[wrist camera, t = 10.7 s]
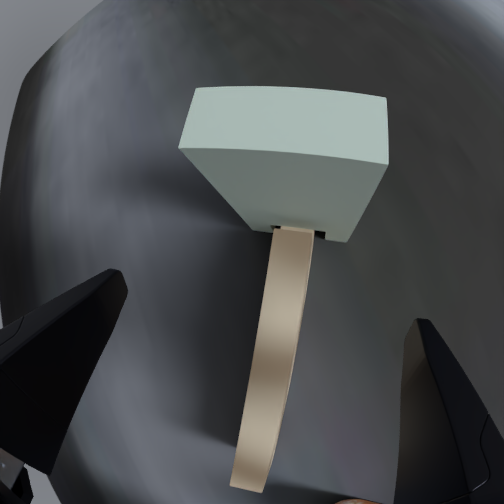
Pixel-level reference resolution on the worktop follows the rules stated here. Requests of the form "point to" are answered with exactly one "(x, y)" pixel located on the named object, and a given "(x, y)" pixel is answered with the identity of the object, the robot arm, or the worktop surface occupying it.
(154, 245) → the worktop surface
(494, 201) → the worktop surface
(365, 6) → the worktop surface
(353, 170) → the sage block
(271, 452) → the beige long bar piece
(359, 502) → the tin
